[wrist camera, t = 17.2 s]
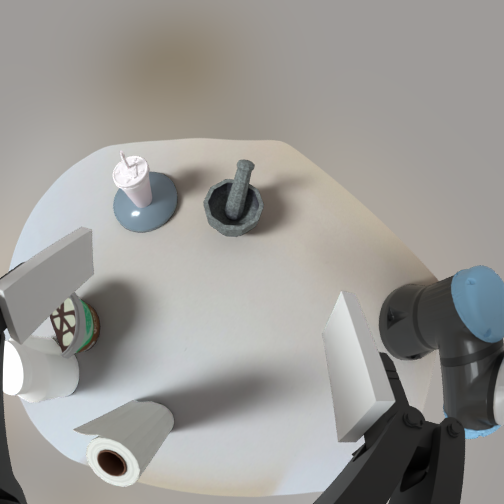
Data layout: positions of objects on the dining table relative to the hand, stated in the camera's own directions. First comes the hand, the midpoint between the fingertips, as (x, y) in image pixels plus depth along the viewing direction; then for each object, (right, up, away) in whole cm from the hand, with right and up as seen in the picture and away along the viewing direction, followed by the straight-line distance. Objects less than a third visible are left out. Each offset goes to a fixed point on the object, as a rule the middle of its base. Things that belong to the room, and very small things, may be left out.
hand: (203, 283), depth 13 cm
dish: (-18, +11, +37) cm, 43 cm away
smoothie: (-18, +12, +36) cm, 42 cm away
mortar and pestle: (-1, +8, +38) cm, 39 cm away
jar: (-34, -20, +25) cm, 47 cm away
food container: (-27, -11, +29) cm, 41 cm away
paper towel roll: (-14, -26, +25) cm, 38 cm away
